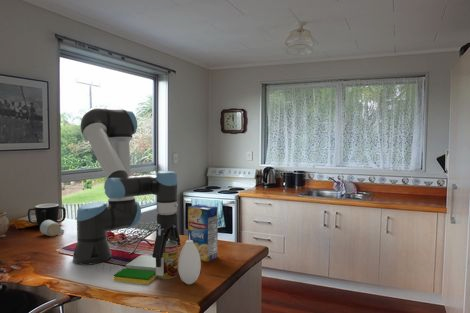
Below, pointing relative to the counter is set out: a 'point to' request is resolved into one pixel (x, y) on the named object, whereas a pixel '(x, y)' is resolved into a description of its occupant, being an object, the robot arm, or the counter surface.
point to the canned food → (170, 260)
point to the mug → (46, 213)
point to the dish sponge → (135, 276)
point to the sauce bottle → (189, 263)
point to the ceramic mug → (50, 228)
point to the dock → (143, 263)
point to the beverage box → (204, 230)
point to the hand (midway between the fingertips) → (167, 268)
